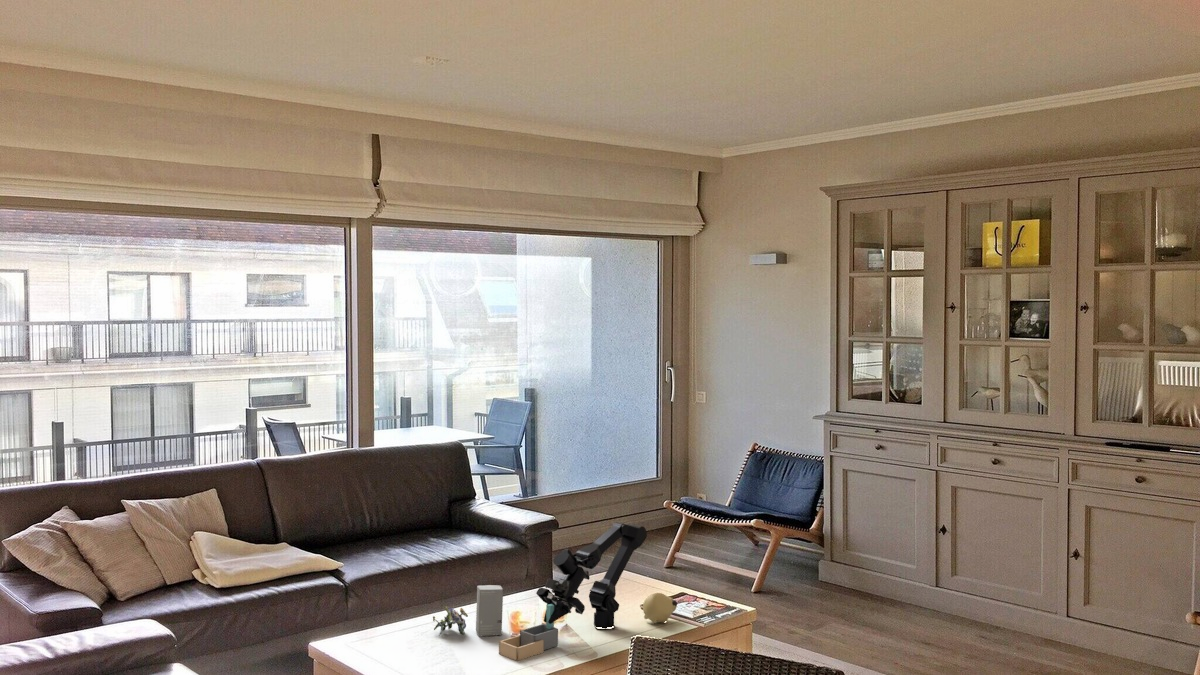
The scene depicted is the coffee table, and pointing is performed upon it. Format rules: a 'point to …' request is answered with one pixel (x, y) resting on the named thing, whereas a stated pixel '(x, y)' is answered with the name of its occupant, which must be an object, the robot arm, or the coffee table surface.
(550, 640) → the grey box with post
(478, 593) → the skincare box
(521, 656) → the tan open box
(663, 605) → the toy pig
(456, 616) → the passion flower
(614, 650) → the coffee table surface
